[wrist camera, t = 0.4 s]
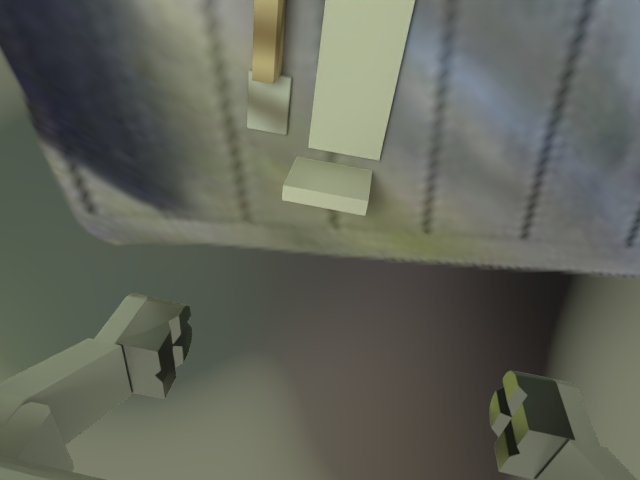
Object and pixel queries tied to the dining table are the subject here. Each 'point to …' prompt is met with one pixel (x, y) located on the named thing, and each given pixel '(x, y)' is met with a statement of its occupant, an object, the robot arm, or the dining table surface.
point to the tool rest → (358, 74)
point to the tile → (328, 185)
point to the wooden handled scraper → (268, 70)
